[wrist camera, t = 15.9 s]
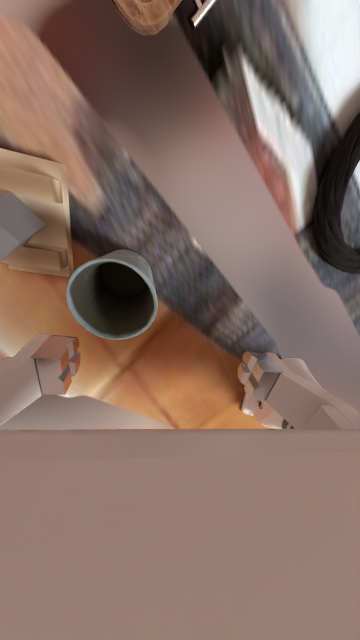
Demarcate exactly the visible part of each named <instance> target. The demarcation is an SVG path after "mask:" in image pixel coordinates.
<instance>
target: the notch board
mask: <svg viewBox="0 0 360 640" xmlns="http://www.w3.org/2000/svg"><path fill="white" fill-rule="evenodd" d="M9 192H12V193H13V194H14V195H15V196H16V197H17V198H18V199H20V200H21V201H22V202H23V203H24V204H25V205H26V206H27V207H28V208H29V209H30V210H31V211H32V212H33V213H35V214H36V215H37V216H38V217H39V218H40V219H41V220H42V221H43V222H44V223H45V224H46V225H45V226H44V227H43V228H42V229H41V230H40V231H39V232H38V233H37V234H36V235H35V236H34V237H33V238H32V239H31V240H29V241H28V242H27V243H26V244H25V245H23V246H22V247H21V248H19V249H18V250H17V251H15V252H14V253H12V254H11V255H10V256H8V257H7V258H6V259H4V260H3V261H2V262H1V263H7V264H8V268H9V269H12V270H20V271H27V272H35V273H42V274H50V275H57V276H64V277H70V276H71V275H72V273H73V272H74V266H73V253H72V239H71V226H70V212H69V199H68V185H67V172H66V166H64V165H62V164H61V163H58V162H54V161H50V160H46V159H42V158H38V157H34V156H30V155H26V154H22V153H18V152H14V151H10V150H6V149H2V148H0V195H2V194H6V193H9Z"/></svg>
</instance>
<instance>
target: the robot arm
mask: <svg viewBox="0 0 360 640" xmlns="http://www.w3.org/2000/svg"><path fill="white" fill-rule="evenodd" d="M78 347H79V339H78V338H77V337H67V336H57V335H47V334H38V335H36V336H35V337H34V338H33V339H32V340H31V341H30V342H29V343H28V344H27V345H26V346H24V347H23V348H22V349H21V350H20V351H19V352H18V353H17V354H16V355H15V356H14V357H7V358H5V359H2V360H0V426H1V425H2V424H3V423H5V422H6V421H8V420H9V419H10V418H12V417H13V416H14V415H16V414H17V413H19V412H20V411H21V410H23V409H24V408H25V407H27V406H28V405H29V404H31V403H32V402H33V401H35V400H36V399H37V398H39V397H40V396H42V395H41V394H65V393H66V392H67V390H68V388H69V386H70V384H71V382H72V381H71V377H72V376H74V375H75V374H76V373H77V371H78V368H79V364H80V353H79V352H78V351H77V349H78ZM242 358H243V362H242V363H240V364H239V367H238V378H239V380H240V382H241V383H242V384H244V385H245V387H244V390H245V396H244V400H243V404H242V408H241V410H242V411H243V413H245V414H248V415H252V416H254V417H255V418H256V420H257V421H258V422H259V423H260V424H261V425H263V426H265V427H270V428H275V429H82V430H81V429H74V430H73V429H70V430H69V429H64V430H63V429H62V430H61V429H59V430H58V429H50V430H49V429H48V430H46V429H45V430H0V640H360V414H359V413H358V412H357V411H356V410H355V409H354V408H353V407H352V406H351V405H349V404H348V403H346V402H344V401H342V400H340V399H339V398H337V397H335V396H333V395H332V394H330V393H328V392H326V391H325V390H323V389H322V388H321V386H320V385H319V384H318V383H317V381H316V380H315V379H314V377H313V376H312V374H311V373H310V371H309V370H308V368H307V366H306V364H305V363H304V361H302V360H301V359H299V358H284V359H279V358H278V356H277V355H276V354H274V353H269V352H249V351H246V352H245V353H244V354H243V357H242Z"/></svg>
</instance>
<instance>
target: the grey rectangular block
mask: <svg viewBox="0 0 360 640" xmlns="http://www.w3.org/2000/svg"><path fill="white" fill-rule="evenodd" d="M45 225H46V224H45V223H44V222H43V221H42V220H41V219H40V218H39V217H38V216H37V215H36V214H35V213H33V212H32V211H31V210H30V209H29V208H28V207H27V206H26V205H25V204H24V203H23V202H22V201H21V200H20V199H18V198H17V197H16V196H15V195H14V194H13V193H12V192H9V193H6V194H2V195H0V262H2V261H3V260H4V259H6V258H7V257H8V256H10V255H11V254H12V253H14V252H15V251H17V250H18V249H19V248H21V247H22V246H23V245H25V244H26V243H27V242H28V241H29V240H31V239H32V238H33V237H34V236H35V235H36V234H37V233H38V232H39V231H40V230H41V229H42V228H43V227H44V226H45Z"/></svg>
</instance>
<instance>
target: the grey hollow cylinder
mask: <svg viewBox="0 0 360 640" xmlns="http://www.w3.org/2000/svg"><path fill="white" fill-rule="evenodd" d="M66 300H67V305H68V308H69V310H70V312H71V314H72V316H73V317H74V318H75V320H76V321H77V322H78V323H79V324H80V325H81V326H82V327H84V328H85V329H86V330H87V331H89V332H91V333H92V334H94V335H96V336H99V337H102V338H106V339H111V340H124V339H129V338H132V337H135V336H137V335H139V334H141V333H143V332H144V331H145V330H146V329H147V328H148V327H149V326H150V325H151V324H152V322H153V321H154V319H155V316H156V313H157V307H158V302H157V295H156V291H155V286H154V284H153V276H152V271H151V268H150V266H149V264H148V262H147V261H146V260H145V259H144V258H143V257H142V256H141V255H140V254H138V253H136V252H134V251H131V250H126V249H121V250H116V251H113V252H111V253H108V254H106V255H104V256H102V257H99V258H96V259H93V260H90V261H88V262H86V263H84V264H82V265H81V266H79V267H78V268H77V269H76V270H75V271H74V272H73V273H72V275H71V277H70V278H69V281H68V283H67V287H66Z"/></svg>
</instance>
